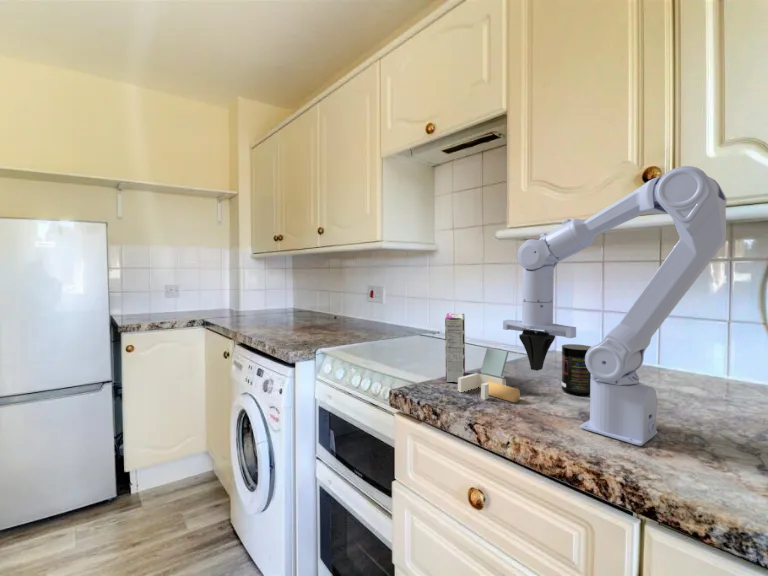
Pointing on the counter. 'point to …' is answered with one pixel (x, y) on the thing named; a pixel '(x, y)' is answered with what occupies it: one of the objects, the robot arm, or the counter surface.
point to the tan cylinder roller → (504, 392)
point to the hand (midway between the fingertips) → (536, 369)
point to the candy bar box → (455, 346)
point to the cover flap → (494, 362)
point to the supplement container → (575, 370)
